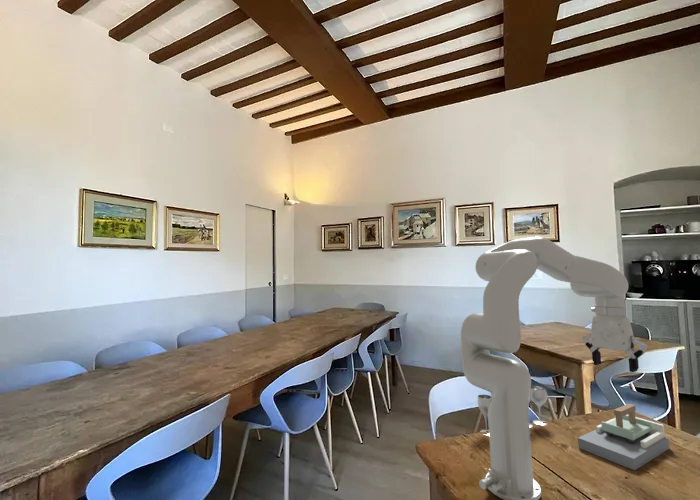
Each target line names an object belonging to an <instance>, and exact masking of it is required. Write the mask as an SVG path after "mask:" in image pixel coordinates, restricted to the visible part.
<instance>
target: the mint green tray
mask: <svg viewBox="0 0 700 500" xmlns="http://www.w3.org/2000/svg"><path fill="white" fill-rule="evenodd" d="M636 407H637V406H636V404H632V403H627V404H624V405H622V406H619V407H617V408H615V409H613V413H614V416H615V415H616V419H615V420H613V421H611V422H609V423H606V422H607V421H600V423H601V425H602V430H604V431H605V433H606V434H607V435H608V436H612V435H613V434H616V435H619V436H622V437H625V438H627V441H628V442H629V443H632V444H633V443H635V439H637V438H639V437H641V436H642V435H645V436H648V435H649V432H650V431H652V425H651V422H649V421H650V420H648V421H645V420H646V419H645V420H642V419H643V418H641V419H638V418H639V417H638V418H635V417H636V410H637V409H636ZM628 415H629V416H628Z"/></svg>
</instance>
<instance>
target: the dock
mask: <svg viewBox="0 0 700 500" xmlns="http://www.w3.org/2000/svg"><path fill="white" fill-rule="evenodd" d="M627 415H628V416H629V414H627ZM635 418H638V419H642V420H645V421H649V422H651V425H652V431H650V432H649V435H648V436H645V435H642V436H641V437H639V438H637V439H635V443H633V444H632V443H629V442H628V441H627V438H625V437H622V436H619V435H616V434H613V435H612V436H608V435H607V434H606V433H605V431H604V430H602V425H601V424H598V425H596V426H595V429H594V430H592V431H589V432H587V433H585V434H582V435H581V436H579V437H577V444H578V446H577V447H578V449H580V450H582V451H584V452H588V453H590V454H592V455H595V456H598V457H600V458H603V459H605V460H607V461H610V462H613V463H615V464H618V465H620V466H623V467H625V468H626V469H627V468H628V469H630V470H632V471H637V470H638V469H639V468H641V467H643V466H644V465H645V464H647V463H649V462H650V461H652V460H654V459H656V458H657V457H658V456H660V455H662V454H663V453H665V452H666V451H668V450H669V449H670V442H669V437H666V435H665V426H664V424H662V423H660V422H659V423H658V422H656V421H652V420H648V419H644V418H641V417H637V416H635ZM615 419H616V415H614V418H612V419H611V418H610V419H609V420H607V421H605V422H606V423H609V422H611V421H613V420H615Z"/></svg>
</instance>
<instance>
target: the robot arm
mask: <svg viewBox="0 0 700 500" xmlns="http://www.w3.org/2000/svg"><path fill="white" fill-rule="evenodd" d="M474 268H475V272H476V274H477V277H479V278H480V279H481V280H483V281H486V282H488V283H487V284H486V286H485V289H484V291H483V296H482V307H483V308H482V311H483V313H481V312H475V313H471V314H469V315H468V316H467V317H465V319H464V320H463V322H462V325H461V329H460V342H461V343H460V345H461V359H462V369H463V370H462V371H463V375H464V377H465V379H466V380H467V381H468V382H469V384H471V385H472V386H474V387H476V388H479V389H482V390H484V391H487V392H489V393H490V394H491V393H493V394H494V398H493V400H492V402H491V404H490V405H489V408H488V417H487V427H488V430H489V436H488V438H489V441H488V442H489V455H490V456H489V457H490V458H489V459H490V468H488V472H487V473H486V475H485V477H484V478H482V479H480V480H479V481H478V485H479V487H480V489H482V490H486V489H488V490H489V491H490V492H491V493H492V494H493V495H495V496H496V497H498V498H500V499H501V500H540V498H541V496H542V489H541V486H540V484H539V483H538V482H537V481H536V480H535V479H534V475H533V474H534V473H533V472H534V471H533V459H532V458H533V457H532V443H531V441H532V440H531V430H530V428H531V427H530V426H529V423H530V413H529V412H530V411H529V408H530V407H529V406H530V402H529V395H530V388H531V387H532V377H531V373H530V372H529V371H530V370H529V369H528V368H527V367H526V366H525V365H523V364H522V363H521V362H519V361H517V360H515V359H512V358H508V357H503V356H499V355H495V354H491V352H494V353H495V352H496V353H500V354H513V353H514V354H515V353H516V352H518V350H519V349H520V346H521V342H522V341H521V337H522V336H521V334H522V333H521V322H520V308H519V302H520V301H519V300H520V295H521V291H522V290H523V288H524V287H525V285H526V284H527V283H528V282H529V280H530V279H532V277H534V275H535V273H536V272H537V270H539V271H540V272H543V273H544V274H546V275H548V276H550V277H551V278H552V279H554V280H557V281H560V282H565V283H569V284H570V285H569V286H570V289H571V291H572V292H573V293H574V294H576V295H578V296H580V297H586V298H587V297H588V298H590V297H591V298H594V301H595V302H594V303H595V304H594V305H595V306H594V307H591V312H593V313H595V315H593V316H592V320H591V321H592V322H591V333H589V334H587V335H583V336H581V339H582V341H583V342H584V345H585V346H586V347H587V348H588V350H589V351H590V352H591V356H592V357H591V359H592V362H593V365H594V366H599V365H601V364H602V357H601V356H602V355H601V353H602V352H601V351H599V350H600V349H605V350H612V351H617V352H618V351H619V352H625V353H626V354H627V355H628V356H629V358H628V367H629V369H628V370H629V372H630V373H635V372H638V370H639V368H640V367H639V358H641V356H642V355H644V354H645V353H646V350H647V349H648V347H649V345H648V344H647V343H645V342H643V341H641V340H639V339H638V338H635V336H634V331H633V328H632V324H631V321H630V319H629V317H627V314H626V313H627V310H626V302H625V301H626V300H625V299H626V298H625V295H626V294H627V292H628V291H629V282H628V279H627V277H626V276H625V275H624V274H623V273H622V272H621V271H620V270H618V269H616V268H615V267H614V266H612V265H610V264H608V263H605V262H602V261H599V260H594V259H591V258H587V257H584V256H583V257H582V256H578V255H574V254H572V253H570V252H569V251H567V250H566V249H564V247H563V248H562V246H559V245H558V244H556V243H555V242H553V241H551V240H550V239H548V238H545V237H542V236H535V237H534V236H533V237H525V238H519V239H517V238H516V239H513V240H509V241H506V242H504V243H502V244H501V245H498V246H496V247H494V248H492V249H490V250H487V251H486V252H483V253H482V254H481V255H480V256H479V257H478V258H477V260H476V262H475V267H474ZM590 340H591V341H590ZM635 345H637V346H638V347H639V348H638V350H637V351H636V349H635Z"/></svg>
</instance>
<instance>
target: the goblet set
mask: <svg viewBox="0 0 700 500" xmlns="http://www.w3.org/2000/svg"><path fill="white" fill-rule="evenodd" d="M493 398H494V394H493V393H491V392H490V395H489V394H478V395H477V405H478V406H477V407H478V409H479V411H480V412H481V413H482V415H483V417H484V423H485V429H481V430H480V431H479V433H480V432H486V431H489V429H488V408H489V405H490V404H491V402H492V400H493ZM531 401H532V402H533V403H534V404H535V405H536V407H537V410H538V419H533V420H532V423H530V422H529V426H530V428H533V427H534V425H533V424H535V425H538V426H547V425H548V422H547V423H543V422H546V421H545V420H541V408H542V406H543V405H544V404H545V403H546V402H547V401H548V393H547V390H546V388H545V387H543V386H537V385H531V388H530V395H529V403H530V402H531ZM481 435H483V436H487V437H489V433H487V434H481Z"/></svg>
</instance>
